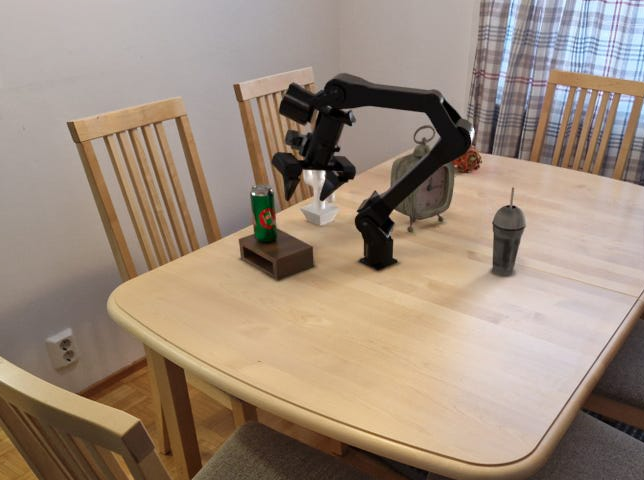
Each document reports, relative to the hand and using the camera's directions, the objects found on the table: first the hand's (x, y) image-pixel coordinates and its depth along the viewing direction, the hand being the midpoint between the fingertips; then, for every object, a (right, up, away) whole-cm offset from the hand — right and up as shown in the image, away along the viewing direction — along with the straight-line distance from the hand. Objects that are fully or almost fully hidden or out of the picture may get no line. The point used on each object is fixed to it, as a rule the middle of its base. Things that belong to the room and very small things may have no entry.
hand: (304, 200), depth 143 cm
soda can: (-9, -9, +1) cm, 12 cm away
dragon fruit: (+42, +24, +60) cm, 77 cm away
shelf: (-7, -13, +3) cm, 15 cm away
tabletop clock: (+26, 0, +24) cm, 35 cm away
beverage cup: (+45, -16, +3) cm, 47 cm away
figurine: (+1, 0, +23) cm, 23 cm away
